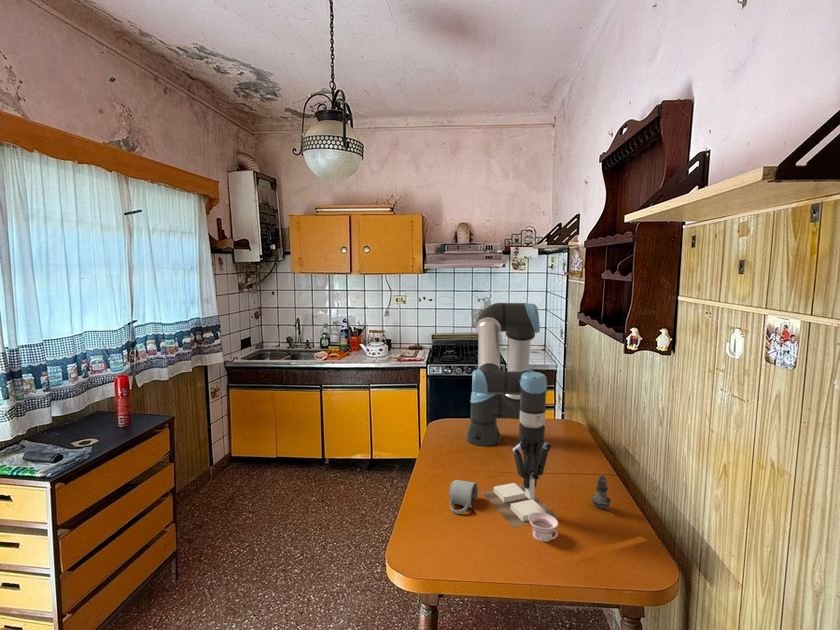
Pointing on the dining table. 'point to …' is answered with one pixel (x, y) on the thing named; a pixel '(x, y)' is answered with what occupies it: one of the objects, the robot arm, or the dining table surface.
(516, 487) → the tile
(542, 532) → the teacup
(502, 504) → the walnut board
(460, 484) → the ceramic mug
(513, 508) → the tile
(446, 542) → the dining table surface
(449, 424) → the dining table surface
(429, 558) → the dining table surface
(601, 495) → the grey stone finial
